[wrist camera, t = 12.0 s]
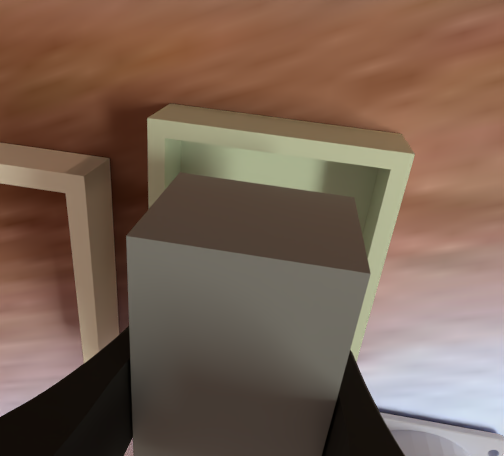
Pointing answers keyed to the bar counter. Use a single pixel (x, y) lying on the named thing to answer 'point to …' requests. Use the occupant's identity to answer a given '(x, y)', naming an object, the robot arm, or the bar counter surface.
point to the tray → (289, 167)
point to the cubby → (78, 229)
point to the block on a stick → (241, 317)
